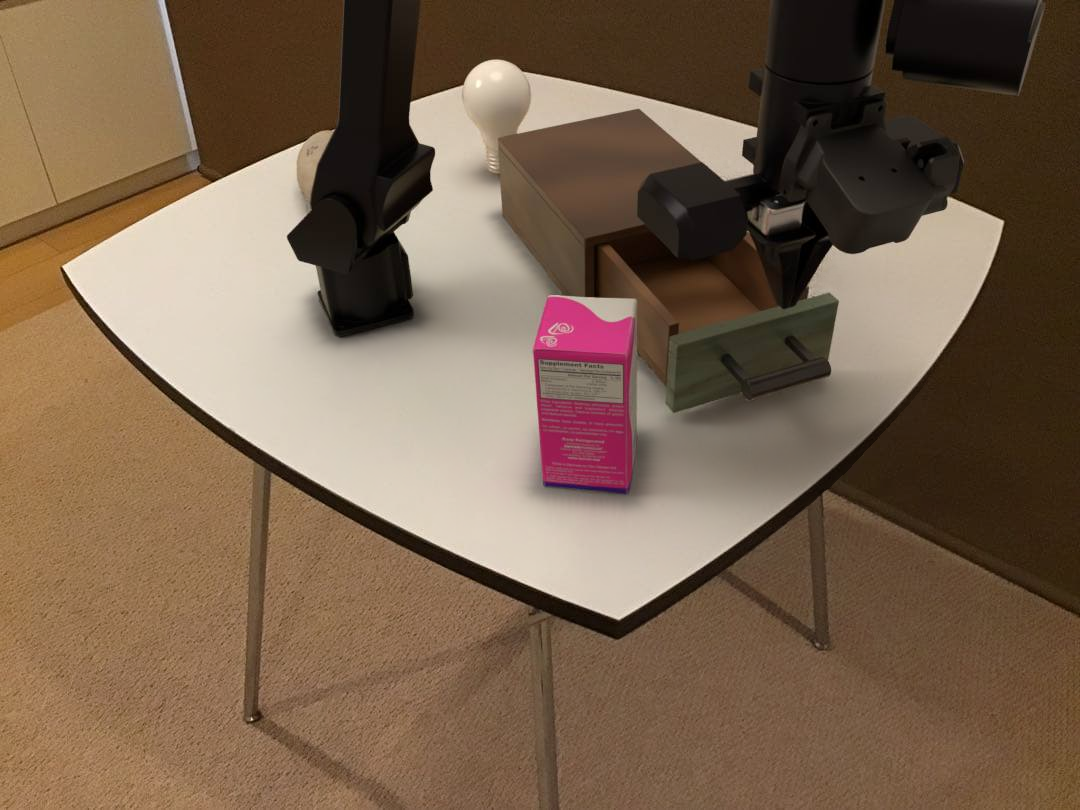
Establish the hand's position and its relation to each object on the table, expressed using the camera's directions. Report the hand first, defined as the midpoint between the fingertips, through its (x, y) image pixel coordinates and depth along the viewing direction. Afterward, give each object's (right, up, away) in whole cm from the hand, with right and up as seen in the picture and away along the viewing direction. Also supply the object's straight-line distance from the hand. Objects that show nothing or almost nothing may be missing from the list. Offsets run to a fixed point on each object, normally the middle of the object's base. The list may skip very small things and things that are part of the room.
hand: (784, 305), depth 66 cm
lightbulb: (-19, +16, +35) cm, 43 cm away
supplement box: (-12, -10, +4) cm, 16 cm away
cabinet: (-9, +7, +24) cm, 27 cm away
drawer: (-3, -1, +12) cm, 12 cm away
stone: (-35, +14, +33) cm, 50 cm away
